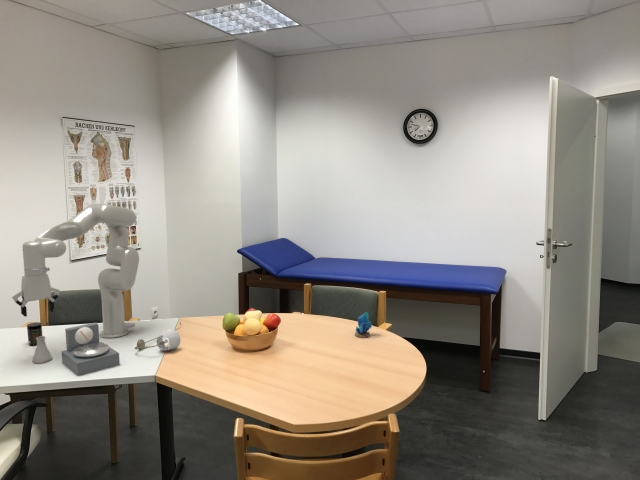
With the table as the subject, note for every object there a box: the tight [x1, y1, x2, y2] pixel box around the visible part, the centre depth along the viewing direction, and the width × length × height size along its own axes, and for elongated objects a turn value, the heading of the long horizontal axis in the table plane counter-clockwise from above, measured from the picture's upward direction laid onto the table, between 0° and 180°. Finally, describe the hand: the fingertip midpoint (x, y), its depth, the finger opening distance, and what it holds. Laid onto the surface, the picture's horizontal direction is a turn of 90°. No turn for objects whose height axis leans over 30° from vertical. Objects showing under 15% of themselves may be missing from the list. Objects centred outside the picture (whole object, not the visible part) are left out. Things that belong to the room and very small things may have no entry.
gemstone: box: [354, 311, 373, 339], centre depth 240 cm, size 7×9×12 cm
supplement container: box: [26, 322, 44, 347], centre depth 228 cm, size 6×6×9 cm
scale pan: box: [73, 342, 110, 357], centre depth 204 cm, size 13×13×1 cm
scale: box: [61, 322, 121, 377], centre depth 205 cm, size 16×18×14 cm
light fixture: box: [134, 321, 182, 351], centre depth 232 cm, size 9×18×40 cm
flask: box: [31, 335, 53, 364], centre depth 208 cm, size 7×7×10 cm
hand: (38, 313), depth 206 cm, fingers open, 9 cm apart
